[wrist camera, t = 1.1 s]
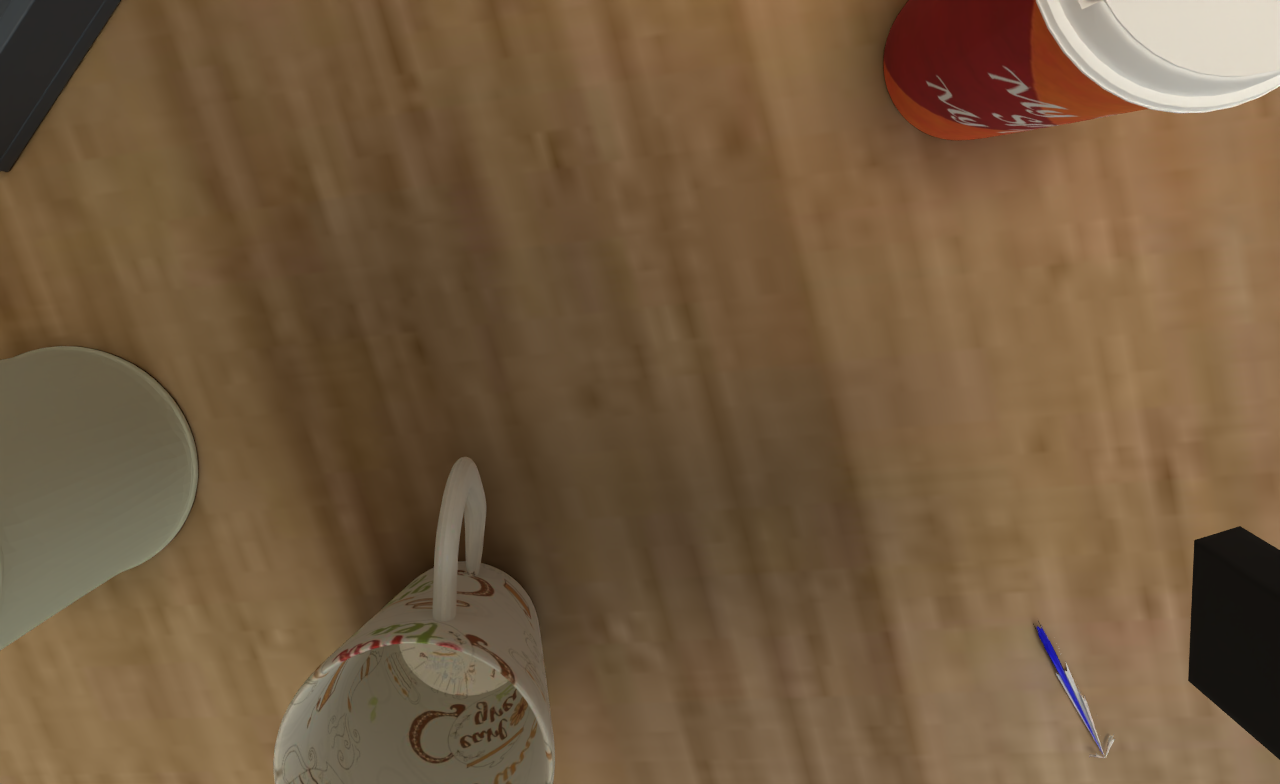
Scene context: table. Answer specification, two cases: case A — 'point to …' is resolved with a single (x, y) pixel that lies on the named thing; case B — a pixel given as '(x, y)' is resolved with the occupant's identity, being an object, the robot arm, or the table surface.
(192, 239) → the table surface
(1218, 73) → the coffee cup
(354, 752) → the mug
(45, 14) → the tray
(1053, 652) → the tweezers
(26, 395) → the can
